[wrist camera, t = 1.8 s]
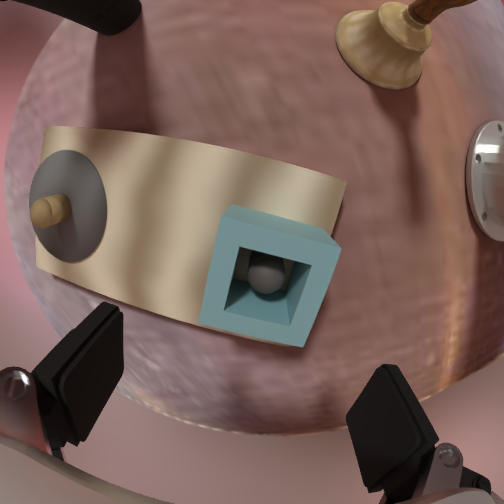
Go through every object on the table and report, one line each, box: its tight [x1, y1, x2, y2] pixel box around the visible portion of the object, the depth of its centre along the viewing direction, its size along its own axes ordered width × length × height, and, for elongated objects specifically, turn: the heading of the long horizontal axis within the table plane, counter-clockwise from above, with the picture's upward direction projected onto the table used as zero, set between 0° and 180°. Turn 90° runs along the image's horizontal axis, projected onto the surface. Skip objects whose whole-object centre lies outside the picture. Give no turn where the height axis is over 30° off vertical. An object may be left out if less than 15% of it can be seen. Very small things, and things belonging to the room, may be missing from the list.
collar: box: [198, 204, 341, 347], centre depth 17 cm, size 7×7×5 cm
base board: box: [29, 126, 347, 347], centre depth 19 cm, size 27×14×6 cm, turn 76°
